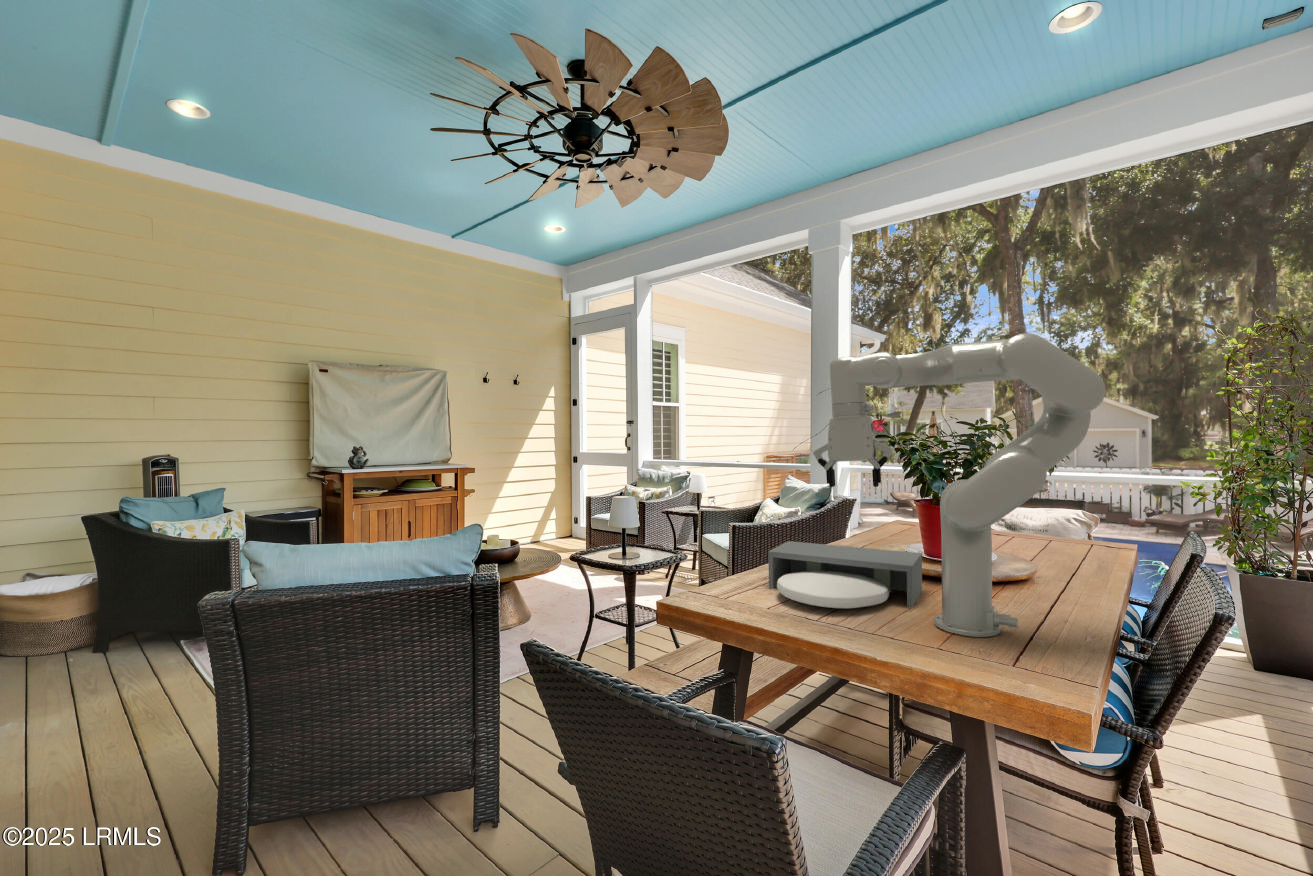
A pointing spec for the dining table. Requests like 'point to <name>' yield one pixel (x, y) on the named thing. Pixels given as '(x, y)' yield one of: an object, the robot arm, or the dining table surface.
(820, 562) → the shelf
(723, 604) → the dining table surface
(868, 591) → the plate
